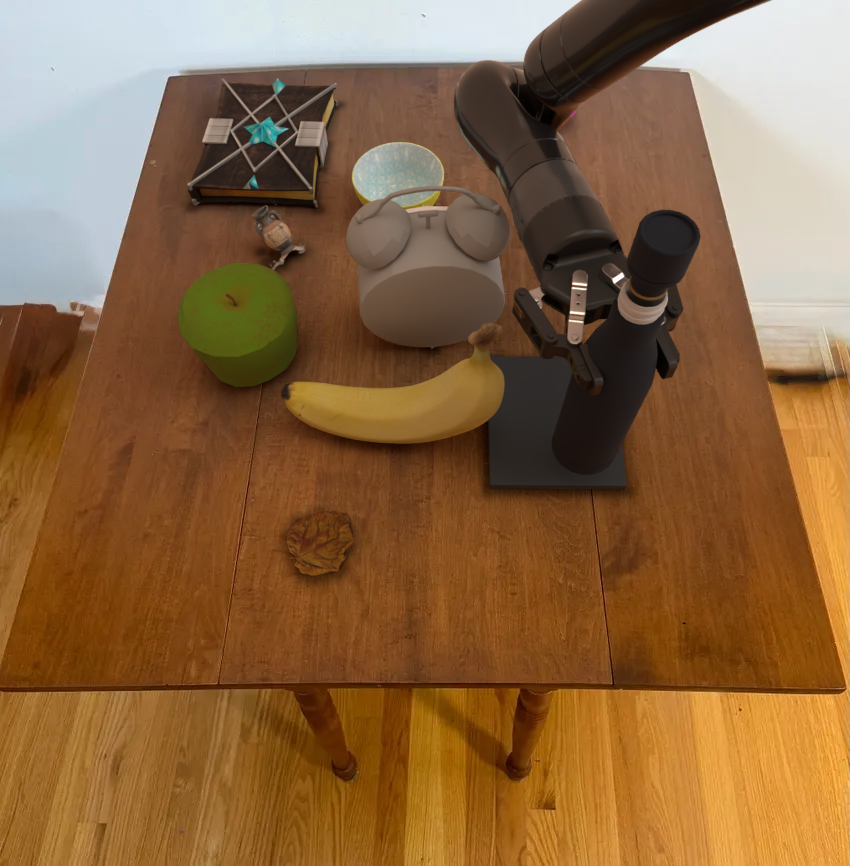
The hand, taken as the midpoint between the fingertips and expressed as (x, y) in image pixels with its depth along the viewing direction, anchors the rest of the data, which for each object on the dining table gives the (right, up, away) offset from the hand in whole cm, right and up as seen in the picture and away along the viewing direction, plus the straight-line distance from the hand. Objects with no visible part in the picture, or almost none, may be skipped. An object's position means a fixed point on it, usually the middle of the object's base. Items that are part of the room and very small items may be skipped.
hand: (634, 380), depth 56 cm
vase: (-35, +19, +35) cm, 53 cm away
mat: (-2, -3, +22) cm, 23 cm away
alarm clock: (-16, +8, +29) cm, 34 cm away
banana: (-20, -4, +22) cm, 30 cm away
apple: (-36, +5, +28) cm, 46 cm away
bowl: (-20, +25, +38) cm, 50 cm away
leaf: (-27, -15, +16) cm, 35 cm away
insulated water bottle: (-1, -5, +15) cm, 16 cm away
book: (-38, +35, +44) cm, 68 cm away
